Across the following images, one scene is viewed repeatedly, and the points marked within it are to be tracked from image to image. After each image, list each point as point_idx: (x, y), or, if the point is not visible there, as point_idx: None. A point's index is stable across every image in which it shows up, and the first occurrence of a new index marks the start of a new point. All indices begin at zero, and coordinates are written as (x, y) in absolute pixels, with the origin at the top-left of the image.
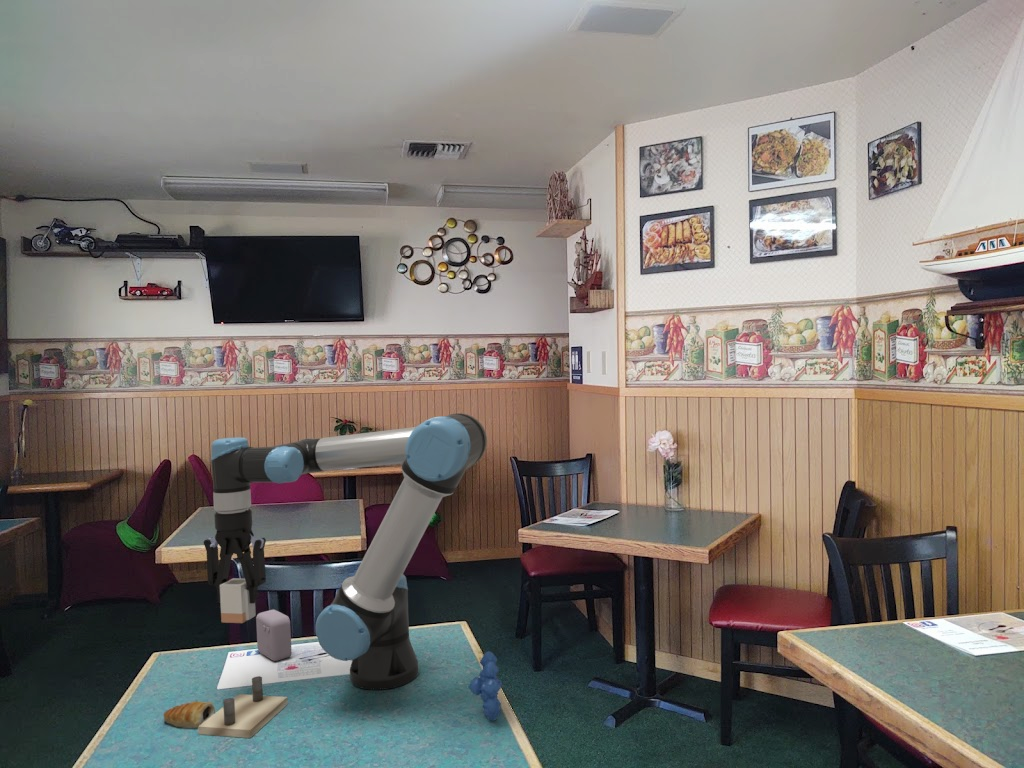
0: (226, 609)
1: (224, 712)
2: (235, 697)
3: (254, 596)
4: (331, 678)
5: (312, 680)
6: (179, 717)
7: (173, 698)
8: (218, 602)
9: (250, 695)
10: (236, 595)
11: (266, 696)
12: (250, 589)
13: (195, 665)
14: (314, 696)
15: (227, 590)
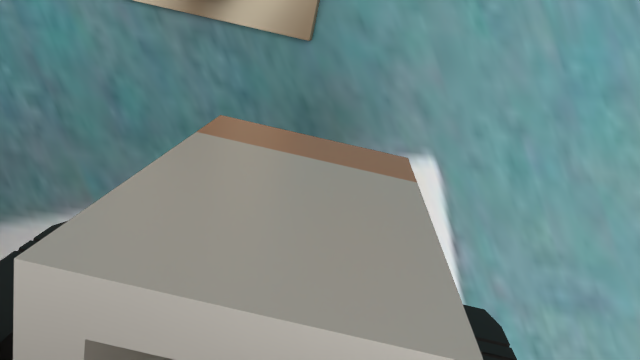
0: (357, 179)
1: None
2: (313, 9)
3: (19, 254)
4: (54, 194)
5: (113, 186)
6: None
7: (580, 90)
8: (484, 310)
9: (259, 22)
10: (188, 207)
11: (193, 8)
12: (2, 308)
13: (577, 355)
14: (52, 55)
15: (322, 274)
